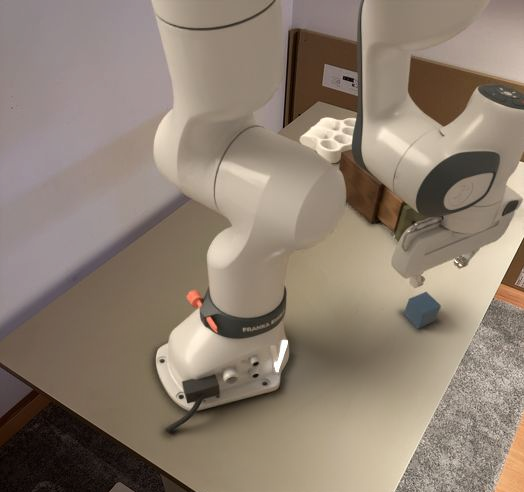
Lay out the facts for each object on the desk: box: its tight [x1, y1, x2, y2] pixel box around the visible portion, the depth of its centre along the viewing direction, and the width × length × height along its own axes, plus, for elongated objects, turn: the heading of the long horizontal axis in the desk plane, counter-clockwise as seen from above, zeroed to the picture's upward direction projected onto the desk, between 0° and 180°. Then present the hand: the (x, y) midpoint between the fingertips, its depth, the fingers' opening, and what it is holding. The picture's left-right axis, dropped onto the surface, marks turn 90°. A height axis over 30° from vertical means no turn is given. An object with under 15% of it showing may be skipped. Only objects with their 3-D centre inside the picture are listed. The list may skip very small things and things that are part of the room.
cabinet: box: [338, 149, 385, 224], centre depth 110 cm, size 14×13×10 cm
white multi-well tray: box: [299, 117, 356, 164], centre depth 127 cm, size 3×18×15 cm
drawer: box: [375, 186, 429, 242], centre depth 104 cm, size 17×11×8 cm
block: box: [403, 291, 442, 330], centre depth 90 cm, size 4×4×4 cm
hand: (438, 274), depth 83 cm, fingers open, 8 cm apart
